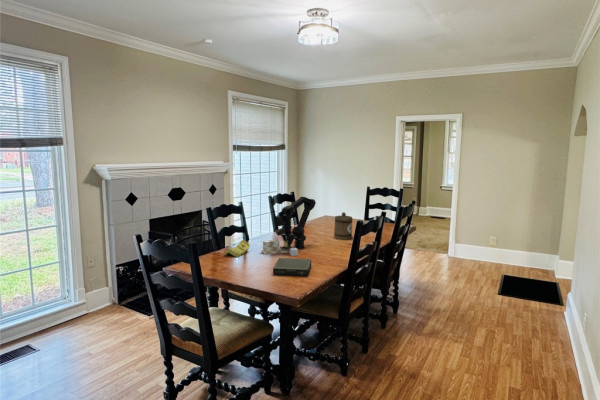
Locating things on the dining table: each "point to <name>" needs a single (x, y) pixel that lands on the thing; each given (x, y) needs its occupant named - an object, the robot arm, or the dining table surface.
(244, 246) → the curled yellow paper
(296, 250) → the grey block
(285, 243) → the brass cylinder
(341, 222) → the wooden container
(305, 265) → the network switch
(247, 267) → the dining table surface
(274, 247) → the mounted unit
